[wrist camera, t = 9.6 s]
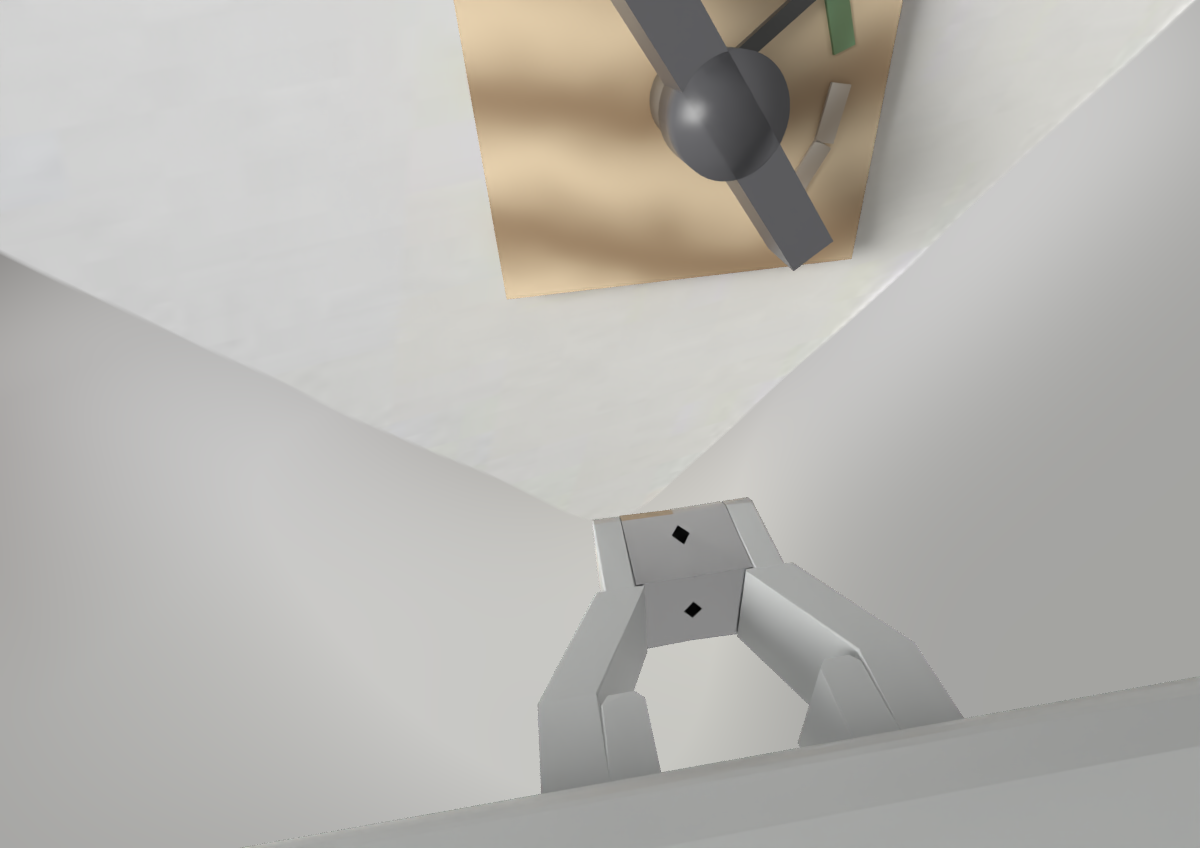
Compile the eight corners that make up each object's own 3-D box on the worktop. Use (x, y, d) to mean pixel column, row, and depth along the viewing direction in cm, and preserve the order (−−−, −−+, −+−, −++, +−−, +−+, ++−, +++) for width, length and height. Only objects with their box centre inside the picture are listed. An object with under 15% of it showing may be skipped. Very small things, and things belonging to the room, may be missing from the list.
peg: (552, -11, 24) (566, -18, 18) (755, -226, 21) (843, -312, 15) (724, 240, 31) (770, 288, 26) (891, 106, 28) (984, 128, 23)
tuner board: (431, -144, 22) (425, -157, 21) (911, -176, 24) (943, -191, 22) (506, 285, 33) (506, 300, 31) (835, 247, 34) (853, 259, 33)
